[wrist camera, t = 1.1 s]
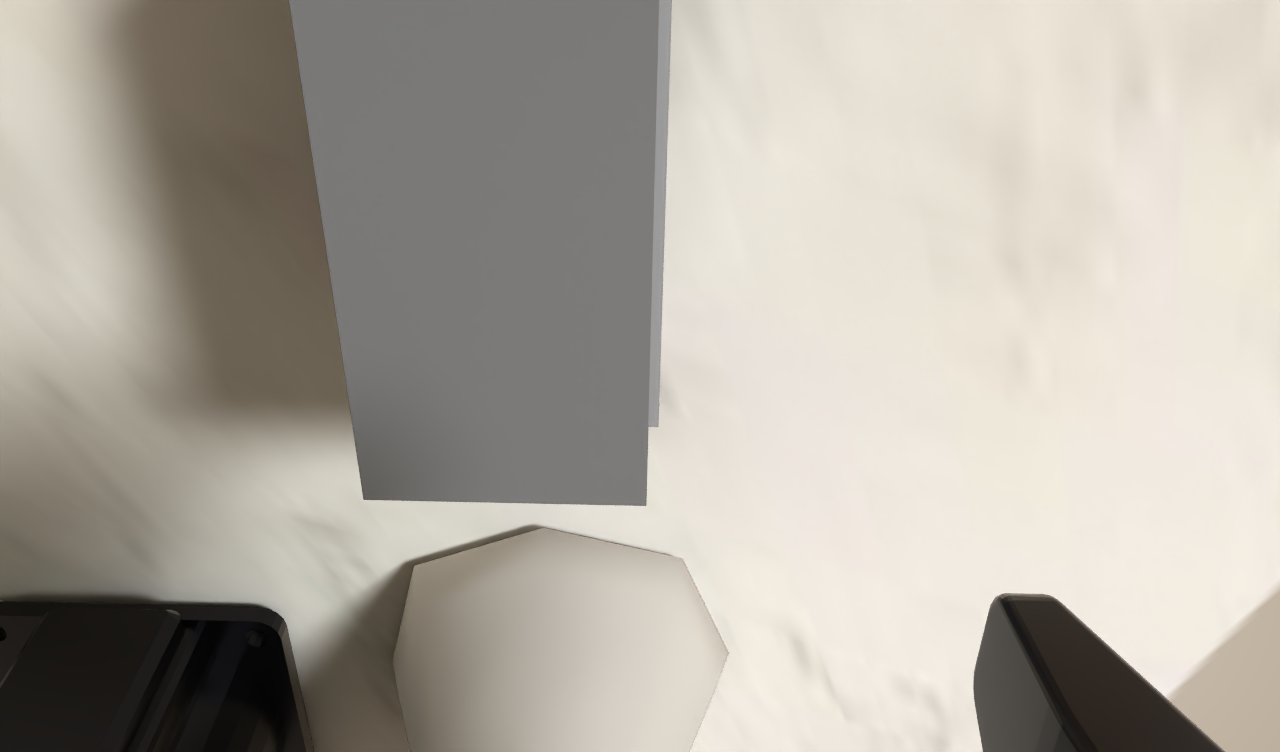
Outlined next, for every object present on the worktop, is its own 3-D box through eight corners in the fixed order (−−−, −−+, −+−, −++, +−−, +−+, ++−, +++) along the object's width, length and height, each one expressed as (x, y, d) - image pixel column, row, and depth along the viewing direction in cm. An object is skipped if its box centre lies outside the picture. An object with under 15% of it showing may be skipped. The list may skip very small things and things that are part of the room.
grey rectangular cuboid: (657, 326, 20) (656, 506, 16) (424, 321, 20) (363, 499, 16) (671, -167, 16) (675, -98, 12) (375, -173, 16) (272, -107, 12)
